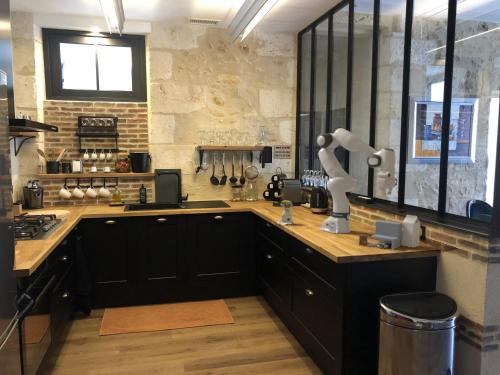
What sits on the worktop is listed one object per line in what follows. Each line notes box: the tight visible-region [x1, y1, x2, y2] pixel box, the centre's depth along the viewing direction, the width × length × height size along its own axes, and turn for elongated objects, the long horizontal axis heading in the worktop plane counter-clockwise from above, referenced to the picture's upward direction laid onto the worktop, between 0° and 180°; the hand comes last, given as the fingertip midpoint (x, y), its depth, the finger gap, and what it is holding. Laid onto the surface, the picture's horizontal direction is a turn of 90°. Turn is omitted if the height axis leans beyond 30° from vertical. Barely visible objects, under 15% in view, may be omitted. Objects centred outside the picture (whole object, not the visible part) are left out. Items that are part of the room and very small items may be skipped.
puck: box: [376, 245, 385, 250], centre depth 240 cm, size 4×4×2 cm
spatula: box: [358, 233, 390, 249], centre depth 245 cm, size 17×4×6 cm, turn 61°
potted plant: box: [277, 199, 294, 226], centre depth 314 cm, size 12×13×18 cm
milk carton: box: [401, 214, 421, 249], centre depth 244 cm, size 7×7×19 cm
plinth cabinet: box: [370, 219, 403, 250], centre depth 245 cm, size 14×13×14 cm
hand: (386, 195), depth 260 cm, fingers open, 8 cm apart
